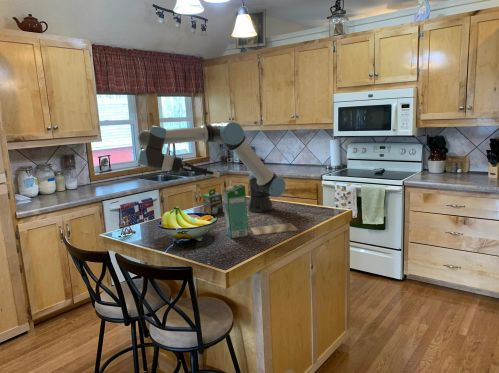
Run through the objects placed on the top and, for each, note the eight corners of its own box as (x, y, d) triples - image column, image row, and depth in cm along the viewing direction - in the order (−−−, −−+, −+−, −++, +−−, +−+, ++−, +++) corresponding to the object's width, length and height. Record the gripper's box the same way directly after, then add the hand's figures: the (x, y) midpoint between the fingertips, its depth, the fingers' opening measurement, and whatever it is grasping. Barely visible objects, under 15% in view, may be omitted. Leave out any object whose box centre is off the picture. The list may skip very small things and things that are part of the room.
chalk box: (215, 209, 248) (213, 187, 245) (223, 212, 241) (221, 188, 238) (203, 212, 243) (201, 189, 240) (211, 215, 236) (209, 191, 233)
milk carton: (225, 233, 198) (222, 185, 193) (242, 230, 201) (239, 183, 196) (231, 238, 190) (227, 188, 185) (248, 235, 192) (245, 185, 188)
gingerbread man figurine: (122, 237, 203) (119, 215, 201) (117, 236, 205) (114, 214, 203) (136, 232, 210) (133, 211, 208) (131, 231, 212) (129, 210, 210)
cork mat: (254, 235, 191) (254, 234, 191) (250, 228, 203) (250, 227, 203) (297, 230, 195) (297, 229, 195) (291, 224, 206) (291, 223, 206)
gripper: (170, 170, 195) (215, 181, 200) (170, 172, 182) (219, 183, 187) (173, 155, 194) (219, 166, 200) (174, 156, 182) (223, 168, 187)
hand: (219, 174), depth 194 cm, fingers closed
